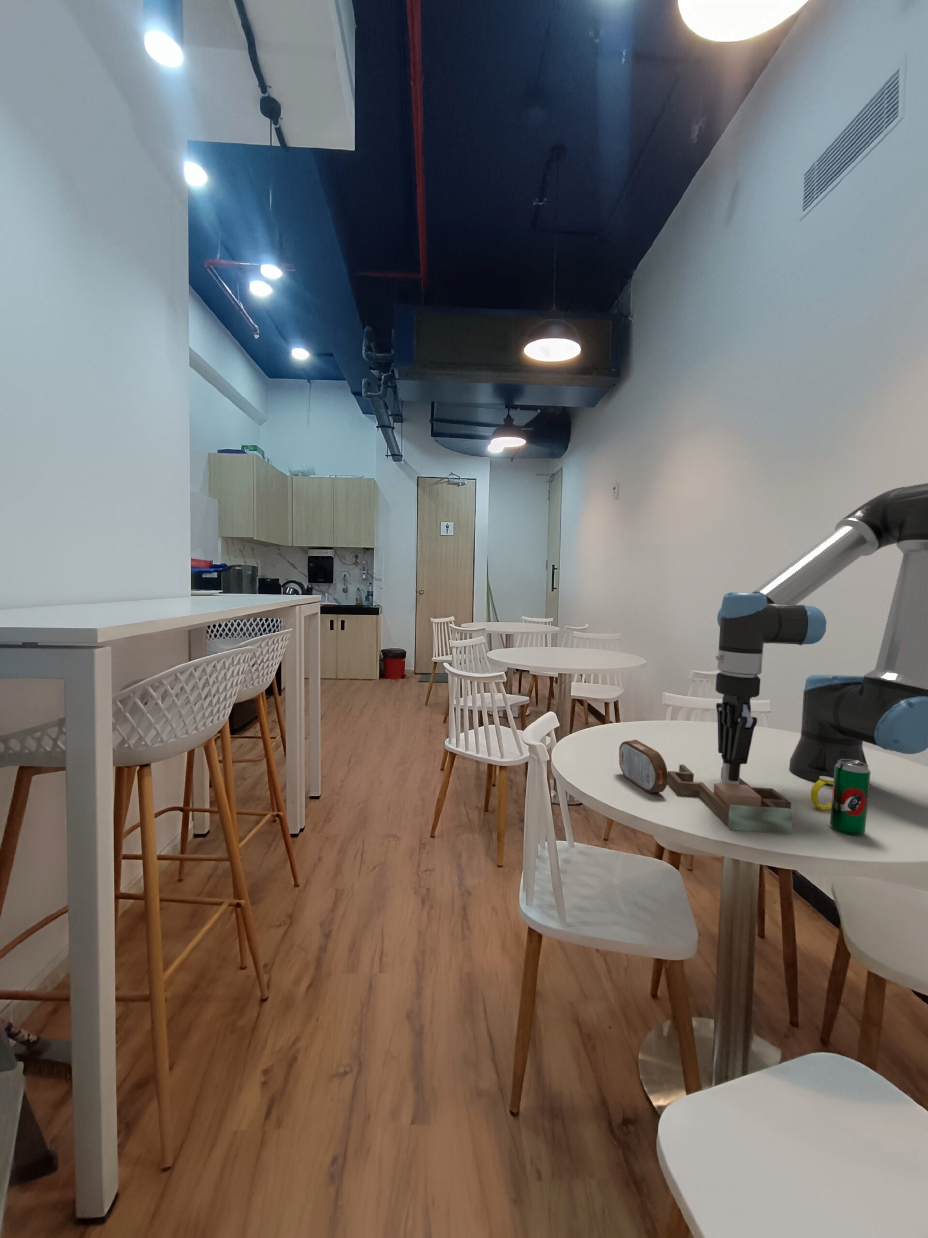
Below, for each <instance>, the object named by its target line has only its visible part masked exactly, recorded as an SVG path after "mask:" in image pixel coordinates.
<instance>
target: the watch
mask: <svg viewBox="0 0 928 1238" xmlns="http://www.w3.org/2000/svg"><path fill="white" fill-rule="evenodd" d="M833 781H834V778H831V777H826V776H820V777H819V780H818V781H817V782H815V783H814V784H813V786H812V787H811V790H810V795H809V796H810V801H811V804H812V805H813V806H814V807H816V808H817V809H819V810H820V811H821V810H822V811H825V810H831V804H832V800H831V801H830V802H828V804H823V805H822V804H821V805H820V804H819V800H818V797H819V792H820V791H821V789H822V787H824V785H829V784H833ZM826 783H827V784H826Z"/></svg>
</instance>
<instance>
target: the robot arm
mask: <svg viewBox="0 0 928 1238" xmlns="http://www.w3.org/2000/svg"><path fill="white" fill-rule="evenodd" d="M895 544H896V547H897V548H898V550H900V552H901V553H902V554H903V556H902V560H901V564H900V568H899V572H898V577H897V579H896V584H895V588H894V592H893V596H892V599H891V603H890V608H889V613H888V616H887V621H886V624H885V628H884V631H883V632H884V633H883V636H882V640H881V644H880V648H879V652H878V656H877V660H876V664H875V668H874V669H873V670H871V671H869V672H867V673H866V674H864V676H863V675H844V674H840V675H838V674H811V675H809V676H808V677H807V678H806V679H805V684H804V689H803V694H802V696H803V699H802V713H801V714H802V715H801V730H800V731H801V732H800V738H799V740H798V742H797V744H796V746H795V748H794V751H793V753H792V755H791V757H790V759H789V771H790V772H791V773H793V774H794V775H796V776H798V777H800V778H803V779H806V780H809V781H812V782H815V783H816V782H817V781H818V780H819V777H820V776H826V777H831V778H834V769H835V765H836V764H837V763H838V760H839V759H851V760H856V761H860V762H863V763H866V764H867V765H868V763H867V759H866V756H865V753H864V752H865V751H864V749H863V742H864V743H866V744H867V743H868V744H870V745H874V746H878V747H879V748H882V749H883V750H886V751H887V750H888V751H890V752H897V753H900V754H904V755H915V754H919V753H923V752H925V751H926V750H927V749H928V482H926V483H921V484H914V485H910V486H902V487H897V488H894V489H890V490H888V491H885V492H883V493H881V494H879V495H877V496H875V497H873V498H871V499H870V500H868V501H867V502H865V503H863V504H862V505H861V506H859V507H858V508H855V510H853V511H852V512H850V513H848V515H846V516H845V517H844V518H842V519H841V520H840V521H838V522H837V524H836V525H835V527H834V531H833V532H831V533H829V535H826V537H824V538H823V539H822V540H821V541H819V542H817V544H816V545H815V544H814V546H812V547H811V548H810V549H809V550H807V551H806V552H804V553H803V554H802V555H801V556H799V557H798V558H797V559H795V560H794V561H793V562H791V563H790V564H789V565H787V566H786V567H784V568H783V569H782V570H781V571H779V572H778V573H777V574H775V575H774V576H773V577H771V578H769V579H768V580H767V581H766V582H765V583H763V584H762V585H760V586H759V587H758V588H757V589H755V590H753V591H752V592H732V591H729V592H726V593H725V594H724V595H723V597H722V602H721V607H720V609H718V612H717V618H716V620H717V623H718V624H717V625H718V626H719V638H718V654H717V655H715V659H716V660H717V669H716V670H718V671H719V672H718V673H717V674H716V679H715V692H717V693H718V694H721V695H723V696H722V702H720V703H719V702H717V703H715V707H716V713H717V752H718V754H721V756H720V757H721V759H722V766H721V769H722V779H721V778H720V779H721V781H720V783H723V784H738V785H739V778H741V777H740V776H741V774H740V773H741V765H747V764H748V760H749V756H750V755H749V754H750V750H751V745H752V740H753V737H754V735H753V734H754V731H755V727H756V726H757V723H758V718H757V717H756V716H752V715H751V713H752V712H751V710H752V705H751V699H753V698H756V697H758V696H760V691H761V678H760V677H759V676H758V675H760V674H762V668H763V658H764V657H763V656H764V644H776V645H777V644H779V645H780V644H781V645H797V646H798V645H799V646H803V645H814V644H817V643H819V642H820V641H821V640H822V639H823V638H824V636H825V634H826V631H827V618H826V615H825V614H824V612H823V611H822V610H821V609H820V608H818V607H816V606H813V605H811V606H810V605H805V604H799V603H800V602H801V601H803V600H805V599H806V598H807V597H809V596H810V595H812V593H814V592H815V591H816V590H818V589H819V588H821V587H822V586H823V585H825V584H826V583H827V582H829V581H830V580H832V579H833V578H834V577H835V576H837V575H838V574H839V573H841V572H842V571H843V570H845V569H846V568H847V567H849V566H850V565H851V564H853V563H854V562H855V561H857V560H858V559H859V558H861V557H867V556H871V555H873V554H874V553H875V552H877V551H878V550H880V549H882V548H884V547H887V546H890V545H895ZM825 785H828V786H829V785H830V786H833V784H827V783H826V784H825Z"/></svg>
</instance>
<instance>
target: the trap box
mask: <svg viewBox="0 0 928 1238" xmlns="http://www.w3.org/2000/svg"><path fill="white" fill-rule="evenodd" d="M720 771H721V772H720V779H722V768H721V770H720ZM667 772H668V783H667V785H668V786H669V787H670V788H671V789H672V790H673V792H675V794H677V796H684V797H686V796H687V797H699V798H700V800H701V801H703V803H704V804H705V805H706V806H707V808H709V809H710V810H711V811H712V812H713V813H714V814H715V816H716V817H718V819H720V821H721V822H722V823H723V824H724V825H725V826H726V827H727V828H728V829H729V830H730V831H739V832H740V831H742V832H756V833H757V832H759V833H761V832H762V833H774V834H787V835H789V834H790V835H791V834H792V827H793V826H792V823H793V811H794V810H793V809H792V802H791V801H790V800H789V799H788V798H786V797H785V796H784V795H782V794H781V793H780V792H778V791H777V790H775V789H774V788H773V787H772V788H769V787H755V786H751V785H749V784H748V783H747V782H746V781H744V780H743V778H741V777H739V785H747V786H749V787H750V788H751V789H752V790H753V791H755V792H756V793H757V794H758V795H759V796H761V807H759V806H743V805H730V806H729V807H728V806H727V805H726V804H724V803H723V802H722V801H721V800H720V799H719V798H718V797H717V796H716V795H715V794H714V791H712V790H711V789H710V788H709V787H708V786H707V785H706V784H705V783H704V782H699V781H694V779H695V778H694V776H695V774H694V773H693V771H692V770H690V768H689V767H687V766H686V765H685V764H678V771H672V770H667Z"/></svg>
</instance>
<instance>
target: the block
mask: <svg viewBox="0 0 928 1238" xmlns="http://www.w3.org/2000/svg"><path fill="white" fill-rule="evenodd" d="M749 786H750V785H749ZM749 786H747V785H738V784H723V783H721V782H719V783H718V782H714V784H713V793H714V794H715V795H716V796H717V797H718V798H719V799H720V800H721V801H722V802H723V803H724V804H726V805H727V806H728V807H729V806H730V805H743V806H759V807H761V796H759V795H758V794H757V793H756V792H755V791H753V790H752V789H751V788H750V787H749Z"/></svg>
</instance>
